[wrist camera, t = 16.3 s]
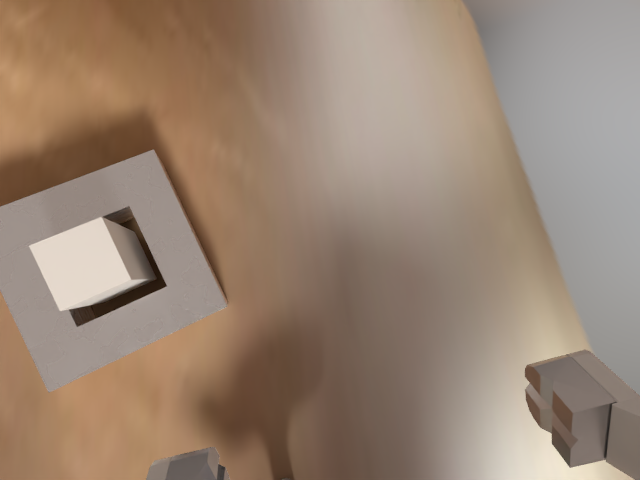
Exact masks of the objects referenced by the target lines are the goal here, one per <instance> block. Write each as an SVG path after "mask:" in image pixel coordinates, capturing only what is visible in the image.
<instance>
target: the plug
mask: <svg viewBox="0 0 640 480" xmlns="http://www.w3.org/2000/svg"><path fill="white" fill-rule="evenodd" d="M29 247H30V249H31V251H32V253H33V256H34V258H35V260H36V262H37V264H38V266H39V268H40V270H41V272H42V275H43V277H44V279H45V281H46V283H47V285H48V287H49V289H50V291H51V294H52V296H53V298H54V300H55V302H56V304H57V306H58V308H59V310H60V311H64V310H69V309H74V308H79V307H84V306H89V305H94V304H99V303H104V302H107V301H109V300H111V299H113V298H116V297H118V296H120V295H122V294H125V293H127V292H129V291H131V290H134V289H136V288H138V287H140V286H142V285H145V284H147V283H149V282H151V281H154V280H156V279H157V278H156V276H155V274H154V272H153V269H152V267H151V265H150V263H149V261H148V259H147V257H146V255H145V253H144V250H143V248H142V246H141V244H140V242H139V240H138V238H137V236H136V233H135V232H134V231H132V230H130V229H127V228H125V227H123V226H121V225H119V224H116V223H114V222H112V221H110V220H108V219H106V218H103V217H99V218H97V219H94V220H92V221H89V222H87V223H84V224H82V225H79V226H77V227H74V228H72V229H69V230H67V231H64V232H62V233H59V234H57V235H54V236H52V237H49V238H47V239H44V240H42V241H39V242H37V243H34V244H32V245H29Z"/></svg>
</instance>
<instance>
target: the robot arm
mask: <svg viewBox="0 0 640 480" xmlns="http://www.w3.org/2000/svg"><path fill="white" fill-rule="evenodd" d="M525 377H526V378H527V380H528V381H529V382H530V384H529V385H528V387H527V388H526V389H525V392H526V401H527V404H528V407H529V410H530V412H531V414H532V416H533V418H534V419H535V421H536V422H537V424H538V425H539V426H540V428H542V429H544V430H546V431H548V432H550V433H552V444H553V445H554V447H555V448H556V449H557V451H558V452H559V453H560V455H561V456H562V457H563V459H564V460H565V462H566V463H567V464H568V466H569V467H570V468H571V467H575V466H579V465H584V464H588V463H593V462H597V461H601V460H606V462H608V463H609V464H611V465H612V466H614V467H616V468H617V469H619V470H620V471H622V472H624V473H625V474H627V475H629V476H630V477H632V478H633V479H635V480H640V396H639V395H638V394H637V393H636V392H635V391H634V390H633V389H631V388H630V387H629V386H628V385H627V384H626V383H625V382H624V381H623V380H622V379H620V378H619V377H618V376H617V375H616V374H615V373H614V372H613V371H611V370H610V369H609V368H608V367H607V366H606V365H605V364H604V363H603V362H601V361H600V360H599V359H598V358H597V357H596V356H595V355H594V354H592V353H591V352H590V351H587V350H582V351H578V352H574V353H570V354H567V355H562V356H558V357H555V358H551V359H547V360H544V361H540V362H536V363H533V364H529V365H527V366H526V368H525ZM146 480H230V478H229V475H228V472H227V470H226V468H225V467H223V466H221V465H219V454H218V452H217V450H216V449H215V447H210V448H206V449H202V450H197V451H193V452H189V453H184V454H180V455H176V456H172V457H168V458H164V459H160V460H156V461H154V462H153V464H152V465H151V466H150V468H149V472H148V475H147V478H146Z"/></svg>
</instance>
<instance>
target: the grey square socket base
mask: <svg viewBox="0 0 640 480" xmlns="http://www.w3.org/2000/svg"><path fill="white" fill-rule="evenodd" d="M99 217H103V218H106V219H108V220H110V221H112V222H114V223H116V224H121V223H123V222H126V221H128V220H131V219H133V218H135V219H136V221H137V223H138V225H139V227H140V230H141V232H142V234H143V236H144V238H145V240H146V242H147V244H148V247H149V249H150V251H151V253H152V255H153V257H154V259H155V261H156V264H157V266H158V268H159V270H160V272H161V274H162V276H163V278H164V281H165V283H166V285H167V287H164V288H162V289H160V290H158V291H156V292H153V293H151V294H149V295H147V296H145V297H142V298H140V299H138V300H136V301H134V302H131V303H129V304H127V305H125V306H123V307H120V308H118V309H116V310H114V311H112V312H109V313H107V314H105V315H103V316H101V317H98V318H96V317H95V314H94V312H93V310H92V308H91V306H90V305H89V306H84V307H79V308H74V309H69V310H64V311H60V310H59V308H58V306H57V304H56V302H55V300H54V298H53V296H52V294H51V291H50V289H49V287H48V285H47V283H46V281H45V279H44V277H43V275H42V272H41V270H40V268H39V266H38V264H37V262H36V260H35V258H34V256H33V253H32V251H31V249H30V247H29V245H32V244H34V243H37V242H39V241H42V240H44V239H47V238H49V237H52V236H54V235H57V234H59V233H62V232H64V231H67V230H69V229H72V228H74V227H77V226H79V225H82V224H84V223H87V222H89V221H92V220H94V219H97V218H99ZM0 291H1V293H2V295H3V297H4V299H5V301H6V303H7V306H8V308H9V310H10V312H11V314H12V316H13V318H14V320H15V322H16V325H17V327H18V329H19V331H20V333H21V335H22V337H23V339H24V341H25V344H26V346H27V348H28V350H29V352H30V354H31V356H32V358H33V360H34V363H35V365H36V367H37V369H38V371H39V373H40V375H41V377H42V379H43V382H44V384H45V386H46V388H47V390H48V392H51V391H53V390H55V389H57V388H60V387H62V386H64V385H66V384H68V383H70V382H72V381H74V380H76V379H78V378H80V377H82V376H84V375H86V374H89V373H91V372H93V371H95V370H97V369H99V368H101V367H103V366H105V365H107V364H109V363H111V362H113V361H115V360H117V359H120V358H122V357H124V356H126V355H128V354H130V353H132V352H134V351H136V350H138V349H140V348H142V347H144V346H146V345H149V344H151V343H153V342H155V341H157V340H159V339H161V338H163V337H165V336H167V335H169V334H171V333H173V332H175V331H178V330H180V329H182V328H184V327H186V326H188V325H190V324H192V323H194V322H196V321H198V320H200V319H202V318H204V317H206V316H209V315H211V314H213V313H215V312H217V311H219V310H221V309H223V308H225V307H227V306H228V301H227V299H226V297H225V295H224V293H223V290H222V288H221V286H220V284H219V282H218V280H217V278H216V276H215V273H214V271H213V269H212V267H211V265H210V263H209V261H208V259H207V256H206V254H205V252H204V250H203V248H202V246H201V244H200V242H199V239H198V237H197V235H196V233H195V231H194V229H193V227H192V225H191V222H190V220H189V218H188V216H187V214H186V212H185V210H184V207H183V205H182V203H181V201H180V199H179V197H178V195H177V193H176V190H175V188H174V186H173V184H172V182H171V180H170V178H169V176H168V173H167V171H166V169H165V167H164V165H163V163H162V162H161V160H160V159H159V157H158V155H157V154H156V152H155V151H154V149H153V150H151V151H148V152H145V153H143V154H140V155H137V156H135V157H132V158H129V159H127V160H124V161H121V162H119V163H116V164H113V165H111V166H108V167H105V168H102V169H100V170H97V171H94V172H92V173H89V174H86V175H84V176H81V177H78V178H76V179H73V180H70V181H68V182H65V183H62V184H60V185H57V186H54V187H52V188H49V189H46V190H44V191H41V192H38V193H36V194H33V195H30V196H28V197H25V198H22V199H20V200H17V201H14V202H12V203H9V204H6V205H3V206H1V207H0Z"/></svg>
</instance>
